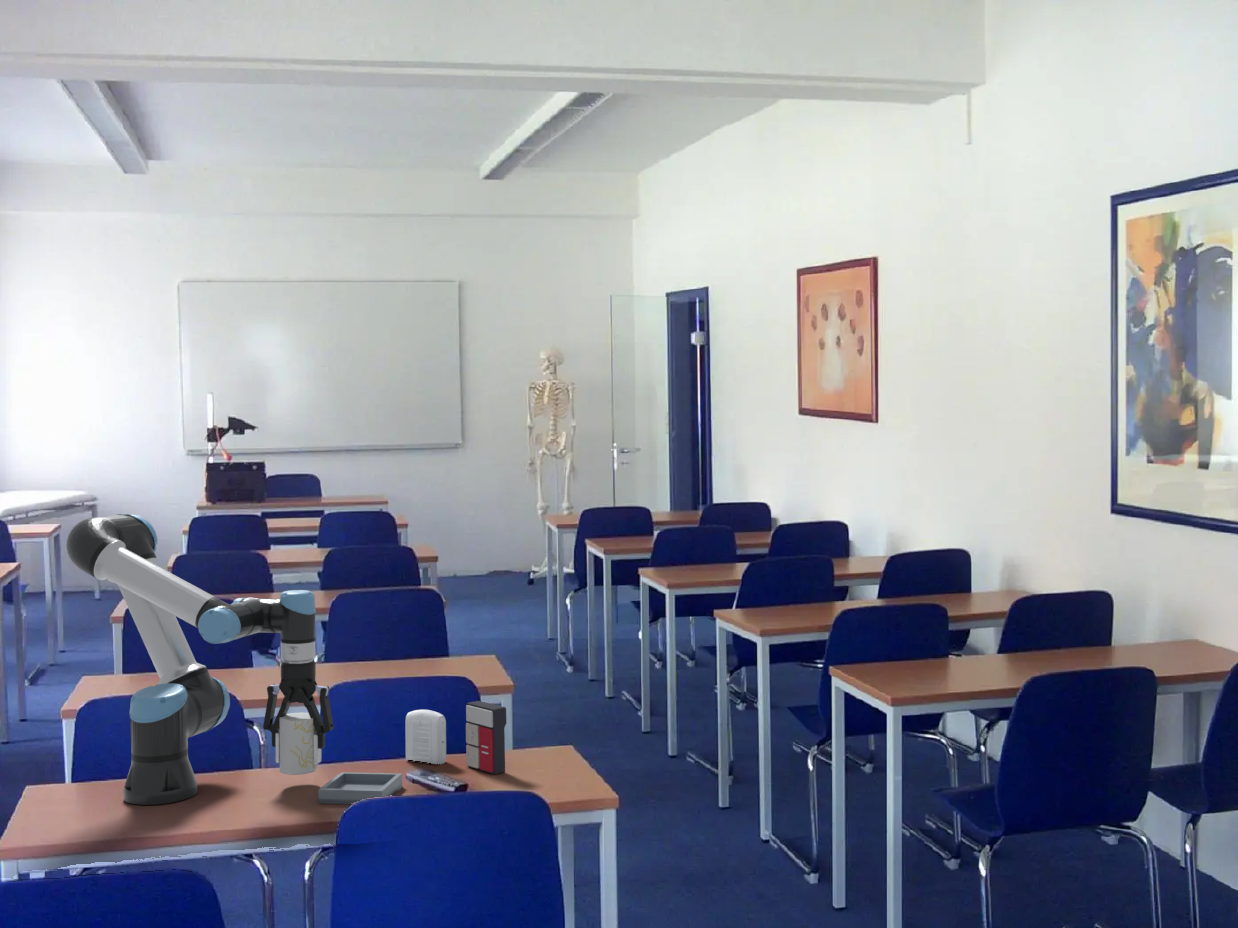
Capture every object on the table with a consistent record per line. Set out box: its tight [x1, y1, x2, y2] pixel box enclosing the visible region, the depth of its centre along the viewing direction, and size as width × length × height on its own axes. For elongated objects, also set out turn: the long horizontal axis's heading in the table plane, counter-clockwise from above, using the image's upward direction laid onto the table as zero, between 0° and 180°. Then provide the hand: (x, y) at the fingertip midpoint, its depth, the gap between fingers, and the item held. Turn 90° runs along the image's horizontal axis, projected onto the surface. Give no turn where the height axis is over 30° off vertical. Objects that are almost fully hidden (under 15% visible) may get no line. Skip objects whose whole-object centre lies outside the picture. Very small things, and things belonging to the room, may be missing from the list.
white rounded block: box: [404, 709, 447, 766], centre depth 309 cm, size 10×4×12 cm, turn 64°
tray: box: [317, 771, 403, 805], centre depth 281 cm, size 14×14×3 cm
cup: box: [279, 712, 318, 776], centre depth 289 cm, size 8×8×12 cm
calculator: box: [465, 700, 507, 776], centre depth 301 cm, size 11×4×15 cm, turn 42°
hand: (298, 761), depth 289 cm, fingers closed on cup, 8 cm apart
